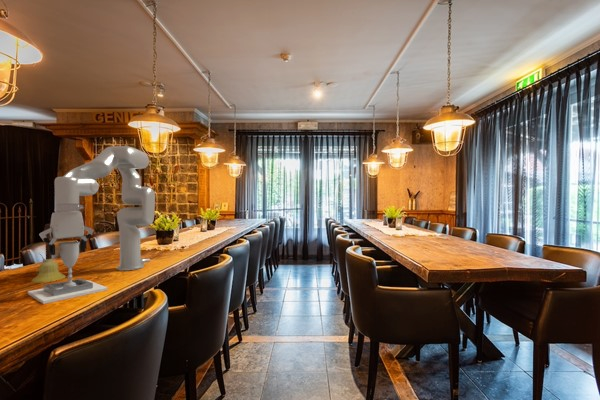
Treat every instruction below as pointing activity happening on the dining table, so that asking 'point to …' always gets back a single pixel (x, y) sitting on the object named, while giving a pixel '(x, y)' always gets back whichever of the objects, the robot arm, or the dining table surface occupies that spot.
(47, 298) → the board
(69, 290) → the collar
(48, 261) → the handbell
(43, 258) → the lily
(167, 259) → the dining table surface
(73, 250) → the chalice
